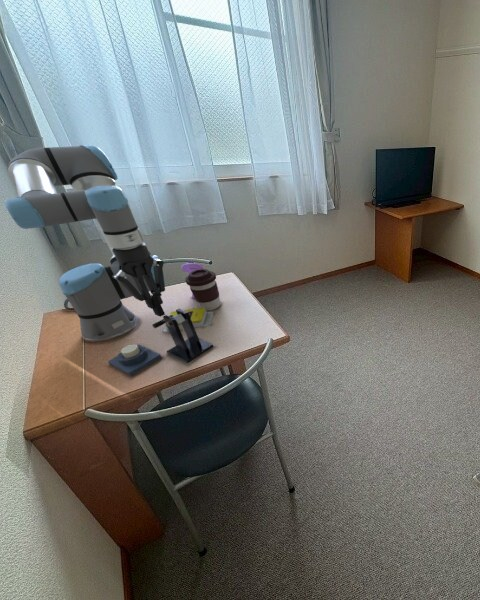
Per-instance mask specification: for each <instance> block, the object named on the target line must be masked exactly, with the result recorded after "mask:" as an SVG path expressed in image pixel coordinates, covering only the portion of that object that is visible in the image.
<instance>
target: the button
mask: <svg viewBox="0 0 480 600" xmlns="http://www.w3.org/2000/svg"><path fill="white" fill-rule="evenodd" d="M137 345H138V344H129V345H126V346H124V347H123V348H121V350H120V352H121V353H122V354H123V356H124V357H125V358H130V357H134V356H136V355H137V354H139V353H140V350H139V348H138V346H137Z"/></svg>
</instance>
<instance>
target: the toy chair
mask: <svg viewBox="0 0 480 600" xmlns="http://www.w3.org/2000/svg"><path fill="white" fill-rule="evenodd" d="M199 269H205V266H204V265H203V264H200V263H196V262H187V263H184V264H183V263H182V265H181V270H182V271H183V272H185V273H188V274H190V273H191V272H192V271H195V270H199ZM191 294H192V295H191V299H195V298H194V296H193V293H191Z"/></svg>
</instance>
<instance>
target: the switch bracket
mask: <svg viewBox="0 0 480 600" xmlns="http://www.w3.org/2000/svg"><path fill="white" fill-rule="evenodd" d="M184 310H185V309H181V308H177V309H175V311H176V312H177V314H181V315H182V316H183V318H184V319H185V321H183V322H181V324H182V326H183V328H184V329H183V331H184V334H185V335H186V337H187V339H185V338H184V335H183V333H182V330H180V329H179V326H178V324H177V322H176V319H174V318H172V317H170V315H167V314H165V315H163V316H162V318H163V319H164V320H165V325H167V327H168V329H169V331H170V332H169V333H170V336H171V338H172V340H173V343H174V345H175V346H173V347H171V348H169V349H167V350H166V354H167V355H169V356H172V357H173V358H175V359H177V360H180V361H181V362H184V363H185V364H190V363H191V362H193V361H194V360H196V359H197V358H199V357H200V356H202V355H203V354H206V352H208V351H210V350H211V349H212V348H214V345H213V344H212V343H210V342H208V341H205V340H204V339H201V338H199V336H198V334H197V331H196V328H194V326H193V323H192V321H191V318H190V316H189V313H188V312H186V311H184Z"/></svg>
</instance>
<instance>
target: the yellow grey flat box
mask: <svg viewBox="0 0 480 600" xmlns="http://www.w3.org/2000/svg"><path fill="white" fill-rule="evenodd" d="M183 310H184V311H186V312H188V313H189V316H190V318H191V321H192V323H193V326H194V328H195V329H196V328H201V327H207V326H208V327H209V326H210V325H211V323H212V319H213V317H214V311H207V310H205V308H204V307H202V308H200V307H196V308H189V309H183ZM170 315H172V316H175V315H177V312H176V310H175V311H171V312H170V313H169V316H170ZM178 326H179V329H180V331H184V328H183V326H182V324H181V323H179V324H178ZM162 333H170V331H169V329H168V327H167V325H166V324H164V328H163V330H162Z"/></svg>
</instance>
